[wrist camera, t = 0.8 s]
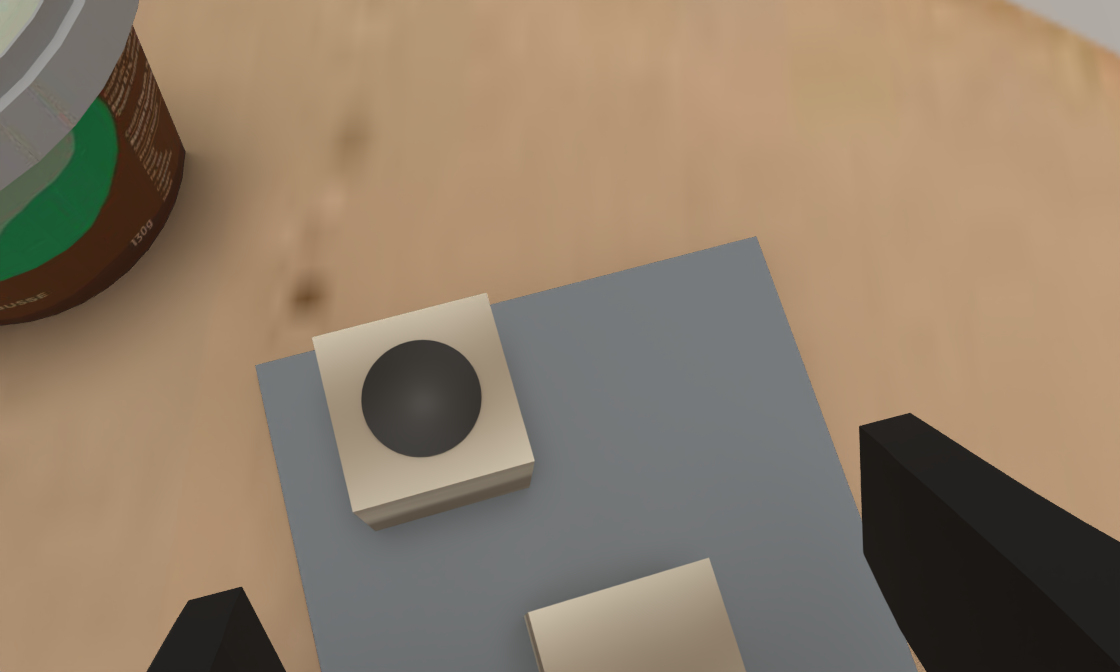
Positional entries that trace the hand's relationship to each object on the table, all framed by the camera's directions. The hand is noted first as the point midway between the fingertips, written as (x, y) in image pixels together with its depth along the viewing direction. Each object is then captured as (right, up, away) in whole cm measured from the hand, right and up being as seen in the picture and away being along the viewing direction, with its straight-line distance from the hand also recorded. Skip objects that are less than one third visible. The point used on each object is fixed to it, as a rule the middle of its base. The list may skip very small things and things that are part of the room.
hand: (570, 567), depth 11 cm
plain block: (+1, -6, +13) cm, 14 cm away
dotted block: (-3, 0, +14) cm, 15 cm away
